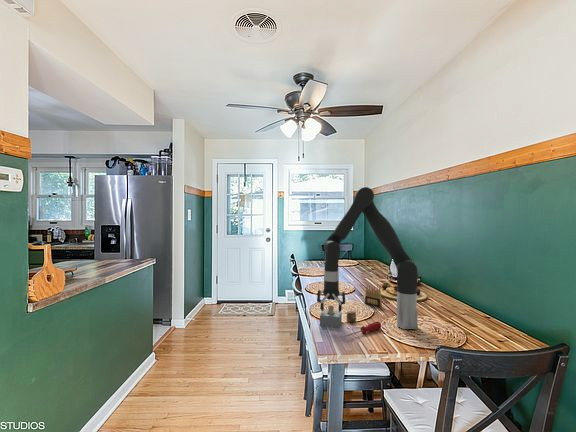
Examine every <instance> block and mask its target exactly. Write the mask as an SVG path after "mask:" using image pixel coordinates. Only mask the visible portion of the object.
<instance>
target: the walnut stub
mask: <svg viewBox="0 0 576 432" xmlns="http://www.w3.org/2000/svg"><path fill="white" fill-rule="evenodd" d="M346 322H348V323H356V322H357V311H353V310H347V311H346Z"/></svg>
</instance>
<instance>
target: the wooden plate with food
mask: <svg viewBox="0 0 576 432" xmlns="http://www.w3.org/2000/svg"><path fill="white" fill-rule="evenodd" d="M381 287H382V288H380V290H381V298H384V299H387V300H391V301H396V302H397V284H396V285H392V286H391V284H390V283H389V282H386V281H384V282H383V283H382V285H381ZM378 293H379V290H378ZM427 300H428V296H427V294H425V293H424V292H422V291H421V289H420V288H419V287H418V286H417V303H418V302H419V303H420V302H425V301H427Z"/></svg>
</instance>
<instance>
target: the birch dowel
mask: <svg viewBox="0 0 576 432" xmlns="http://www.w3.org/2000/svg"><path fill="white" fill-rule="evenodd" d="M327 310H328V314H331V315H333V311H334V305H333V304H328V309H327Z"/></svg>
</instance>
